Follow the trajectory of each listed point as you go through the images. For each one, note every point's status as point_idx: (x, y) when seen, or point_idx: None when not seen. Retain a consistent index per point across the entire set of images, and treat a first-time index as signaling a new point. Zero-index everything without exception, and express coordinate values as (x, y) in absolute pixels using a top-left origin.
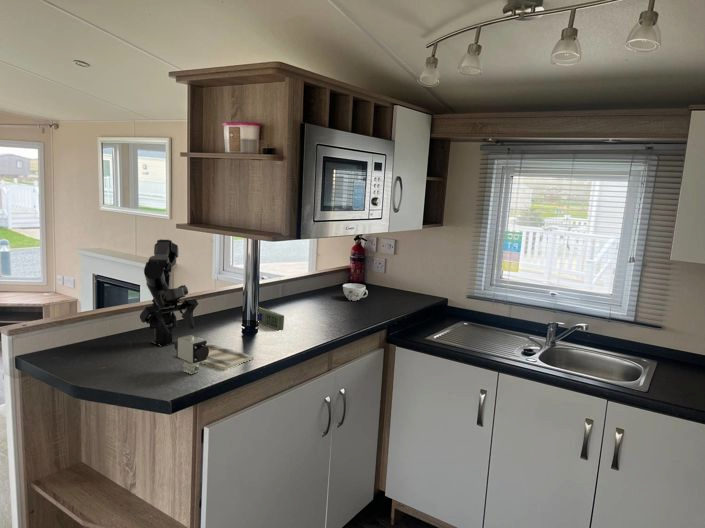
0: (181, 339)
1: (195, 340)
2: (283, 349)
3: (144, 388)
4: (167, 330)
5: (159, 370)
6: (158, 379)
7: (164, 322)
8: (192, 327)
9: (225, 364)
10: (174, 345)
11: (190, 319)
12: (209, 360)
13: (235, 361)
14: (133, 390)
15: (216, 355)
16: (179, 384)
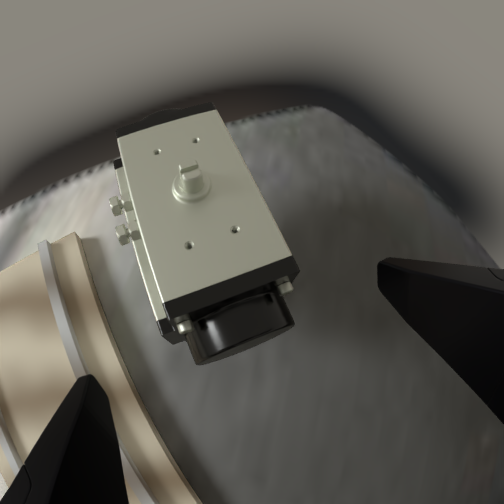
0: (269, 211)
1: (176, 154)
2: None
3: (387, 200)
4: (408, 261)
5: (331, 358)
6: (345, 256)
7: (484, 286)
8: (95, 385)
9: (56, 260)
10: (294, 323)
11: (67, 451)
12: (90, 344)
13: (14, 275)
14: (414, 201)
15: (43, 394)
16: (279, 181)
